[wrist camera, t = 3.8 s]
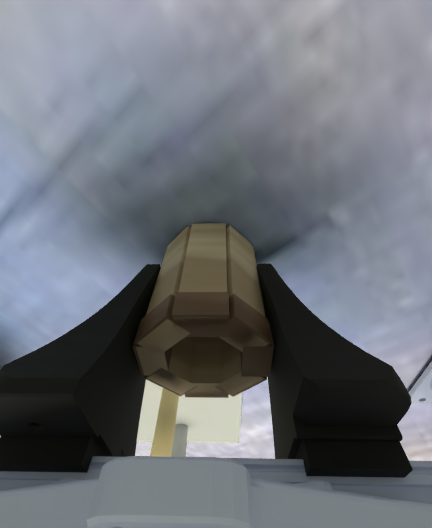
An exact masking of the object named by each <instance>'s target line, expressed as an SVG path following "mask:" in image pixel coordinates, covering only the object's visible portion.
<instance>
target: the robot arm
mask: <svg viewBox="0 0 432 528" xmlns="http://www.w3.org/2000/svg"><path fill="white" fill-rule="evenodd" d="M160 268H161V267H160V264H147V265H146V266H145V267H144V268H143V269H142V270H141V271H140V272H139V273H138V274H137V275H136V276H135V278H134V279H133V280H132V281H131V282H130V283H129V284H128V285H127V286H126V287H125V288H124V289H123V290H122V291H121V292H120V293H119V294H118V295H116V296H115V297H114V298H113V299H112V300H111V301H110V302H109V303H108V304H106V305H105V306H104V307H103V308H102V309H100V310H99V311H98V312H97V313H95V314H94V315H93V316H91V317H90V318H89V319H87V320H86V321H84V322H83V323H81V324H80V325H78V326H77V327H75V328H74V329H72V330H71V331H69V332H67V333H66V334H64V335H63V336H61V337H59V338H57V339H56V340H54V341H52V342H50V343H49V344H47V345H45V346H43V347H41V348H39V349H37V350H35V351H33V352H31V353H29V354H27V355H25V356H23V357H21V358H19V359H17V360H14V361H12V362H10V363H8V364H6V365H4V366H3V368H2V369H1V370H0V435H1V438H0V528H432V461H409V460H408V458H407V456H406V454H405V452H404V450H403V448H402V446H401V444H400V441H401V440H402V435H401V432H400V430H399V428H398V426H397V424H398V423H399V421H400V420H401V419H402V418H403V416H404V415H405V414H406V412H407V411H408V409H409V407H410V405H411V403H432V361H431V363H430V364H429V365H428V367H427V368H426V369H425V371H424V372H423V374H422V375H421V376H420V378H419V379H418V380H417V382H416V383H415V385H414V386H413V387H412V389H411V390H410V391H409V393H408V391H407V389H406V388H405V386H404V384H403V382H402V381H401V379H400V377H399V376H398V375H397V373H396V372H395V370H394V369H393V367H392V366H390V365H389V364H387V363H385V362H383V361H381V360H380V359H378V358H376V357H374V356H372V355H370V354H369V353H367V352H365V351H363V350H362V349H360V348H359V347H357V346H356V345H354V344H352V343H351V342H349V341H348V340H346V339H345V338H343V337H342V336H341V335H339V334H338V333H336V332H335V331H334V330H332V329H331V328H330V327H328V326H327V325H326V324H325V323H323V322H322V321H321V320H320V319H319V318H318V317H316V316H315V315H314V314H313V313H312V312H311V311H310V310H309V309H308V308H307V307H306V306H305V305H304V304H303V303H302V302H301V301H300V300H299V299H298V298H297V297H296V296H295V294H294V293H293V292H292V291H291V290H290V288H289V287H288V286H287V285H286V284H285V282H284V281H283V280H282V278H281V277H280V276H279V274H278V273H277V272H276V270H275V269H274V267H273V266H272V265H271V264H257V271H258V277H259V282H260V288H261V293H262V299H263V305H264V311H265V317H266V318H267V319H268V322H269V323H270V327H271V332H272V338H273V343H274V350H273V357H272V363H271V369H270V375H269V377H268V384H269V393H270V403H271V413H272V424H273V435H274V447H275V459H247V458H216V457H162V456H135V450H136V442H137V434H138V427H139V420H140V414H141V407H142V401H143V395H144V389H145V383H146V379H145V376H142V375H141V372H140V369H139V365H138V362H137V359H136V356H135V353H134V350H133V343H134V340H135V337H136V334H137V331H138V328H139V324H140V321H141V319H142V318H143V317H145V316H146V313H147V310H148V306H149V303H150V300H151V297H152V294H153V290H154V287H155V284H156V281H157V278H158V275H159V272H160Z"/></svg>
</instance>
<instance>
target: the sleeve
mask: <svg viewBox="0 0 432 528" xmlns="http://www.w3.org/2000/svg"><path fill="white" fill-rule="evenodd" d="M133 350H134V353H135V356H136V359H137V362H138V365H139V369H140V372H141V375H142V376H145V379H146V380H148V381H150V382H152V383H154V384H156V385H158V386H160V387H162V388H165V389H167V390H169V391H171V392H173V393H175V394H177V395H179V396H182V395H184V394H185V397H198V398H229V395H231V396H233V397H234V396H236V395H238V394H239V393H241V392H243V391H245V390H247V389H249V388H251V387H253V386H255V385H257V384H259V383H261V382H263V381H265V380H267V377H269V375H270V369H271V363H272V357H273V350H274V343H273V338H272V332H271V327H270V323H269V322H268V319H267V318H266V317H265V311H264V305H263V299H262V293H261V288H260V282H259V277H258V271H257V265H256V259H255V253H254V248H253V246H252V244H251V243H250V242H248V241H247V240H246V239H245V238H244V237H243V236H242V235H241V234H239V233H238V232H237V231H236V230H235V229H234V228H233V227H232V226H231V225H229V226H228V227H227V228H226V223H208V224H192V226H191V227H190V226H189V225H188V226H187V227H186V228H185V229H184V230H183V231H182V232H181V233H180V234H179V235H178V236H177V237H176V238H175V239H174V240H173V241H172V242H171V243H170V244H169V245H168V246H167V249H166V252H165V255H164V258H163V262H162V265H161V268H160V272H159V275H158V278H157V281H156V284H155V287H154V290H153V294H152V297H151V300H150V303H149V306H148V310H147V313H146V316H145V317H143V318H142V319H141V321H140V324H139V328H138V331H137V334H136V337H135V340H134V343H133Z"/></svg>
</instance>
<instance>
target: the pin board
mask: <svg viewBox="0 0 432 528" xmlns="http://www.w3.org/2000/svg"><path fill="white" fill-rule="evenodd" d="M241 404H242V392H241V393H239V394H238V395H236V396H234V397H233V396H231V395H229V398H198V397H185V394H184V395H182V396H179V395H177V394H175V393H173V392H171V391H169V390H167V389H165V388H162V387H160V386H158V385H156V384H154V383H152V382H150V381H148V380H146V383H145V389H144V395H143V401H142V407H141V414H140V420H139V427H138V434H137V442H153V443H152V449H151V454H150V456H162V457H185V455H186V444H187V442H199V443H239V436H240V420H241Z"/></svg>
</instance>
